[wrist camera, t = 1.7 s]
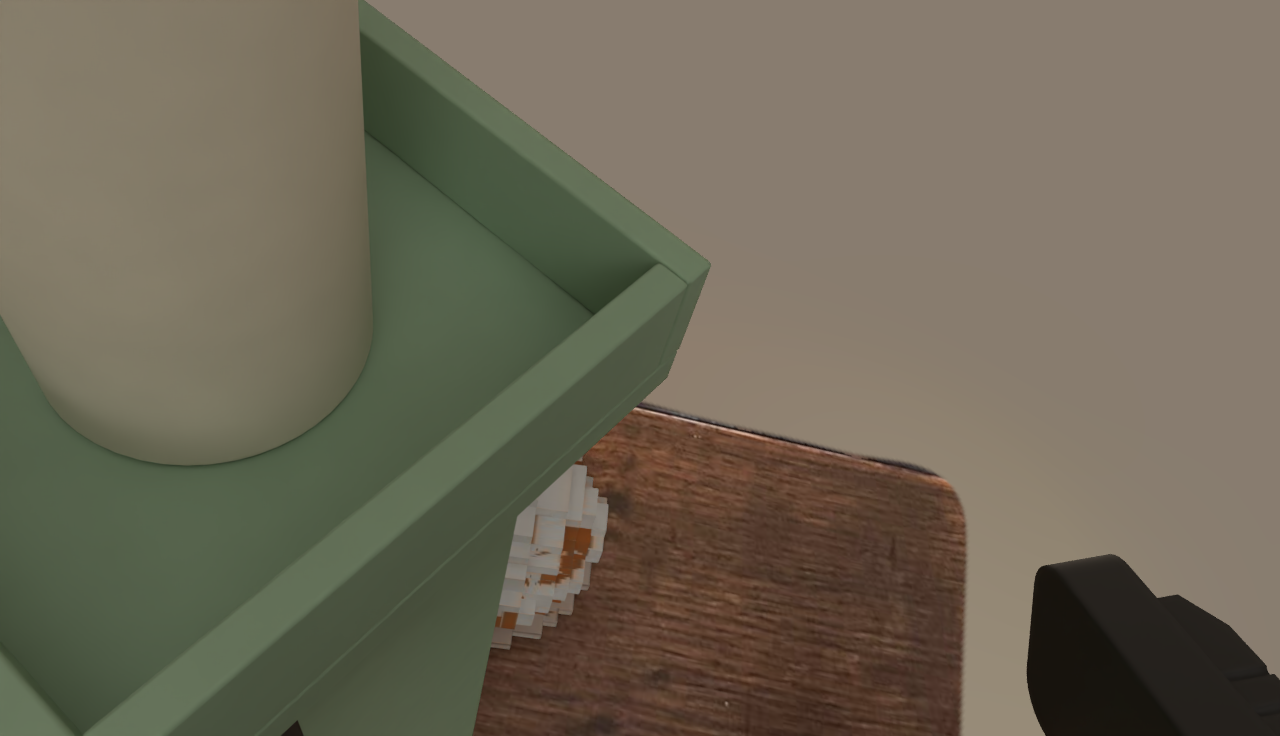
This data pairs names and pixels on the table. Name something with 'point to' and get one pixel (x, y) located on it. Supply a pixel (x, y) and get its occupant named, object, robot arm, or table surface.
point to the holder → (349, 456)
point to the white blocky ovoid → (551, 556)
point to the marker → (185, 218)
